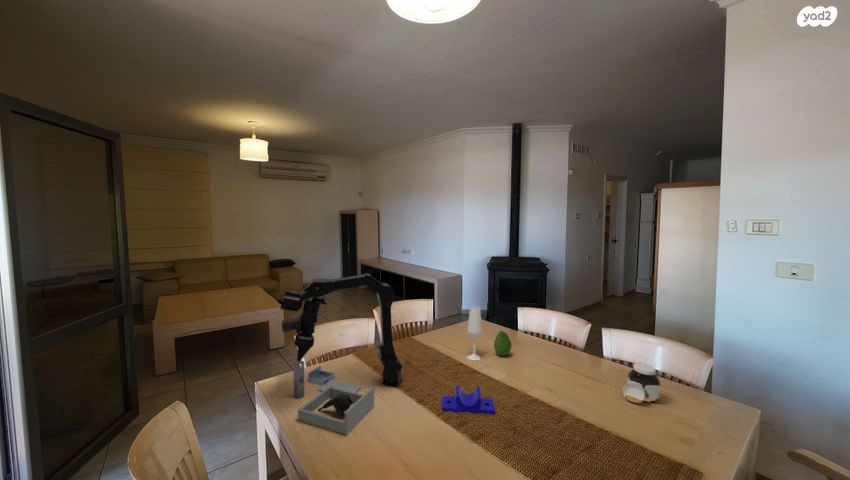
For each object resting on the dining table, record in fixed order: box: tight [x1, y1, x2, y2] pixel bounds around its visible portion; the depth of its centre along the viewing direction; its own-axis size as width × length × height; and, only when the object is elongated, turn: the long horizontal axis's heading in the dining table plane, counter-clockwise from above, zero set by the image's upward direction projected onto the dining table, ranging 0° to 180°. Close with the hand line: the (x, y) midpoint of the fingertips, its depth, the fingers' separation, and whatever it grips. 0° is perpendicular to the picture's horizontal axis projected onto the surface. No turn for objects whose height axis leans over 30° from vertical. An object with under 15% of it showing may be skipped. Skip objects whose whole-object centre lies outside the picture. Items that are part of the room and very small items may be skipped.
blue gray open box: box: [307, 365, 336, 386], centre depth 133 cm, size 8×7×4 cm
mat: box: [317, 379, 362, 393], centre depth 125 cm, size 14×8×1 cm, turn 69°
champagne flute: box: [466, 305, 483, 362], centre depth 154 cm, size 7×7×24 cm
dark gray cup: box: [293, 360, 306, 399], centre depth 120 cm, size 4×4×12 cm
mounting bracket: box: [441, 385, 496, 415], centre depth 115 cm, size 18×7×6 cm, turn 85°
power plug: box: [317, 393, 354, 415], centre depth 110 cm, size 6×8×12 cm
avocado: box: [493, 330, 512, 357], centre depth 157 cm, size 8×8×12 cm
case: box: [297, 386, 375, 436], centre depth 110 cm, size 19×16×7 cm
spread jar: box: [622, 362, 661, 403], centre depth 121 cm, size 12×11×12 cm
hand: (299, 355), depth 119 cm, fingers open, 9 cm apart
